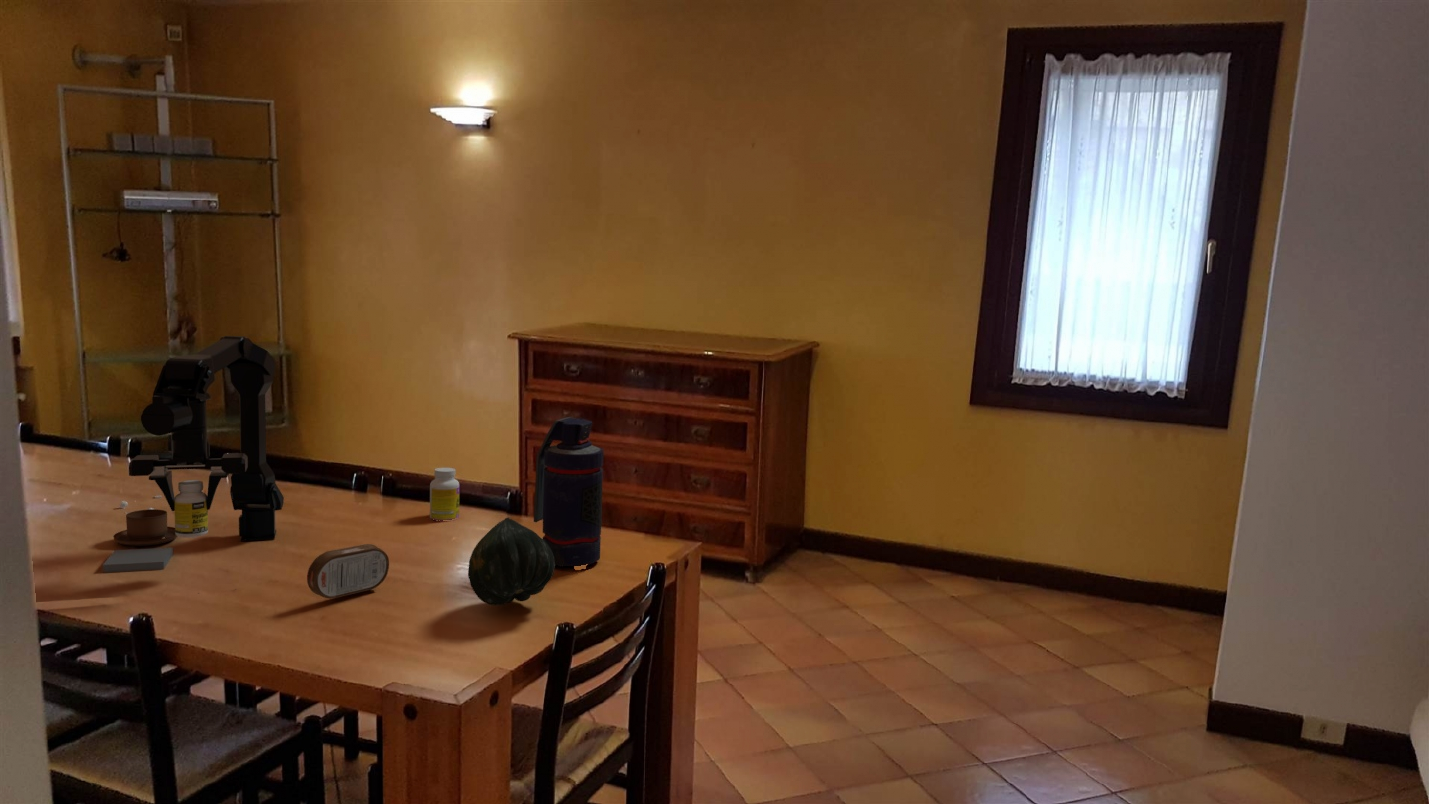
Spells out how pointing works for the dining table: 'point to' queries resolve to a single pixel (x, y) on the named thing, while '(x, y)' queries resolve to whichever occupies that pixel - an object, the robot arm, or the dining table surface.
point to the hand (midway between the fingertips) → (191, 510)
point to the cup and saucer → (146, 529)
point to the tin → (348, 571)
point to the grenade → (570, 492)
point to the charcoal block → (138, 560)
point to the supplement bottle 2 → (444, 495)
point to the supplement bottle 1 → (191, 509)
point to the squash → (510, 564)
